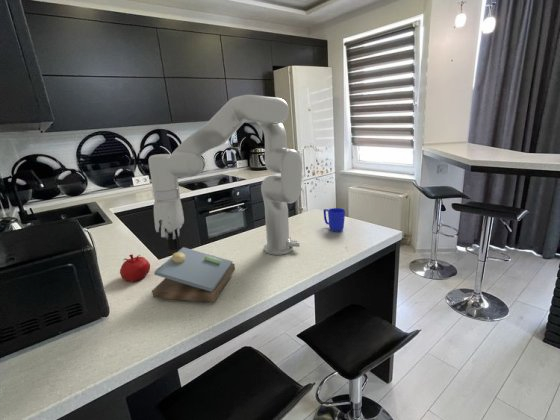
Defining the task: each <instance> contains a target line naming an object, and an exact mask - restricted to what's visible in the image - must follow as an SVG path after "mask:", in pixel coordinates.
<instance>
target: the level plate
mask: <svg viewBox="0 0 560 420" xmlns="http://www.w3.org/2000/svg"><path fill="white" fill-rule="evenodd" d="M232 263H233V261H232V260H229V259H227V258H226V259H225V258H222V257H220V256H215V255H211V254H209V253H205V252H201V251H197V250H194V249H191V248H188V247H185V246H183V247H182V248H180V249H178V250H177V252H174V253H172V256H171V257H170V258H168V259H167V260H166V261H164V263H163V264H161V265H160V266H159V267H157V269H155V270H154V272H153V275H154V276H157V277H161V278H164V279H165V278H167V279H170V280H174V281H177V282H180V283H184V284H187V285H190V286H194V287H197V288H200V289H204V290H207V291H210V292H213V290H214V289H215V288H216V286H217V285H218V283H219V282H220V281H221V279H222V278H223V276H224V275H225V274H226V272H227V271H228V269H229V268H230V267H231V265H232Z"/></svg>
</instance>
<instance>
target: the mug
mask: <svg viewBox="0 0 560 420" xmlns="http://www.w3.org/2000/svg"><path fill="white" fill-rule="evenodd" d="M345 216H346V210H345V209H344V208H340V207H339V208H338V207H335V208H334V207H333V208H330V209H326V208H324V209H323V219H324V223H325V224H326V225H327V226H328V228H329V230H330V231H331V230H333V231H332V232H336V231H338V232H341V230H342V231H343V230H344V227H345V225H344V224H345ZM327 218H328V219H327Z"/></svg>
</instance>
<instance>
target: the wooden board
mask: <svg viewBox="0 0 560 420" xmlns="http://www.w3.org/2000/svg"><path fill="white" fill-rule="evenodd" d="M235 265H236V264H235V263H233V262H232V265H231V267H230V268H229V269H228V271H227V272H226V274H225V275H224V276H223V278H222V279H221V281H220V282H219V283H218V285H217V286H216V288H215V289H214V290H213V292H210V291H207V290H204V289H200V288H197V287H194V286H190V285H187V284H184V283H180V282H177V281H174V280H170V279H167V278H164V279H163V280H162V281H160V283H158V284H157V286H155V288H153V289H152V290H151V294H152V298H153V299H166V300H167V299H170V300H182V301H199V302H204V303H211V302H214V301H216V299H217V297H218V296H219V294H220V293H221V291H222V290H223V289H224V287H225V285H226V284H227V282H228V281H229V279H230V278H231V277H232V275H233V273H234V271H235V270H236V266H235Z"/></svg>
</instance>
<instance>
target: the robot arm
mask: <svg viewBox="0 0 560 420" xmlns="http://www.w3.org/2000/svg"><path fill="white" fill-rule="evenodd" d="M289 115H290V108H289V104H288V103H287V101H285V100H284V99H282V98H281V97H274V96H267V95H266V96H265V95H258V94H244V95H238V96H234V97H232V98H230V99H229V100H227V102H226V103H225V104H224V105H223V106H222V107H220V109H219V110H217V112H216V113H215V114H214V115H213V116H212V117H211V118H210V119H209V120H207V122H206V123H205V124H204V125H202V126H201V127H199V128H198V129H197V130H196V131H195V132H193V133H192V134H190V135H189V136H188V137H186V139H184V140H183V141H182V142H181V143H180V144H179V145H178V146H177V147H176V148H175V149H174V150H173V152H172V153H171V154H170V153H169V154H168V153H160V154H153V155H150V156H149V158H148V167H149V174H150V179H151V186H152V187H151V188H152V193H153V197H154V202H153V219H154V221H153V222H154V229H155V231H156V233H160V237H161V238H164V239H166V240H167V245H168V246H167V247H168V249H169V251H179V250H180V249H181V243H180V242H181V241H180V236H181V235H180V230H181V228H182V227H183V225H184V223H185V217H184V216H185V215H184V210H183V205H182V201H181V195H180V187H179V186H180V185H179V179H178V177H194V176H195V177H197V176H198V175H199V174H201V173H202V171H203V169H204V164H205V163H204V160H203V158H202V157H201V156H202V155H204V154H205V153H207V152H208V151H209V150H212V149H215V148H218V147H220V146H222V145H224V144H226V143H227V141H229V140H230V138H231V137H232V136H233V135H234V134H235V133H236V132H237V131H238V129H240V128H241V126H243V124H244V123H256V124H257V125H258V126H259V127H260V129H261V130H262V133H263V137H264V164H265V165H264V166H265V168H266V170H267V171H270V172H272V173H277V174H280V175H268V176H267V177H265V178H264V179H263V181H262V182H261V185H260V189H261V195H262V199H263V204H264V216H265V217H264V218H265V232H266V233H265V234H266V244H265V245H263V251H264V252H265V253H267V254H268V255H271V256H272V255H273V256H282V255H286V254H289V253H291V252H293V250H294V247H295V248H300V244H301V243H300V242H298V240H292V238H291V236H290V225H289V223H290V222H289V208H288V204H293V203H295V202H297V200H299V198H300V195H301V192H302V177H303V176H302V175H303V174H302V173H303V161H302V157H301V155H300V153H299V152H298V151H297V150H295V149H294V148H293V149H292V148H288V146H287V145H288V144H287V143H288V139H287V136H288V135H287V131H286V129H285V126H284V124H283V123H284V122H285V121H287V119H288V117H289Z"/></svg>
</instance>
